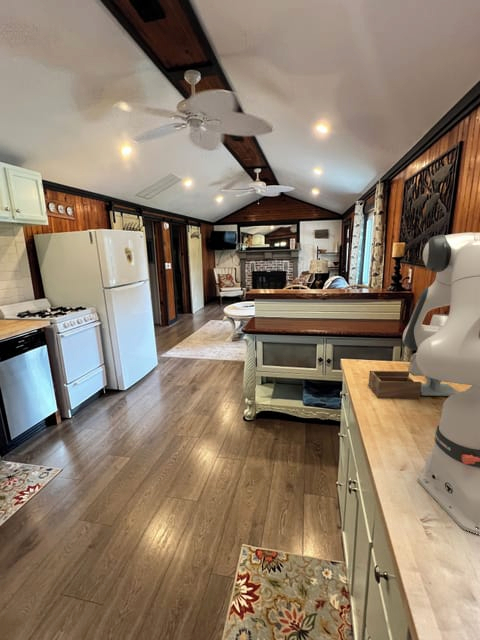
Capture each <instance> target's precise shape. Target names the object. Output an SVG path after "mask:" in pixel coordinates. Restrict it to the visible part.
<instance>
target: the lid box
mask: <svg viewBox="0 0 480 640" xmlns="http://www.w3.org/2000/svg"><path fill="white" fill-rule="evenodd" d="M422 383H423V382H421V381H415V380H414V379H412V378H411V377H410V373H409V371H408V370H402V371H401V370H400V371H399V370H369V376H368V384H367V385H368V388H370V390H371V391H372V393H374V396H376V398H377V399H390V400H391V399H394V400H395V399H396V400H399V399H400V400H404V399H405V400H420V397H421V394H420V391H421V385H422Z"/></svg>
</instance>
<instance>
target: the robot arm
mask: <svg viewBox="0 0 480 640" xmlns="http://www.w3.org/2000/svg"><path fill="white" fill-rule="evenodd" d="M422 260H423V263H424V266H425V268H426V269H427V270H428V271H431V272H434V273H435V272H436V275H435V280H434V281H433V283H432V284H431V285H430V286H429V287H426V288H424V289H422V291H421V292H420V294H419V297H418V299H417V302H416V303H415V306H414V309H413V311H412V314H411V316H410V319H409V321H408V323H407V326H406V327H405V329H404V330H403V334H402V343H403V345H404V346H405V347H406V348H407V349H409V350H410V351H416V352H415V353H413V354H412V355H411V356H410V359H409V360H410V361H409V364H408V369H407V371H409V375H411V376H414V377H415V376H416V377H418V376H419V377H420V376H421V377H424V378H425V380H426V383H425V384H427V385H430V386H431V385H432V384H433V382H432V381H431V380H430V379H429V378H433V379H437V380H438V381H439V382H440V384H442V382H444V383H451V384H458V385H464V386H465V385H467V386H470V387H468V388H467V389H466V390H463V391H461V392H459V393H456V394H453V395H451V396H448V397H447V398H446V399H445V400H444V402H443V404H442V408H441V414H440V419H439V424H438V425H437V426H436V430H435V432H434V445H433V447H431V449H430V451H429V452H428V454H427V457H426V461H425V464H424V467H423V470H422V472H421V473H420V474H419V475H418V477H417V482H418V483H419V484H420V485H421V486H422V488H424V490H425V491H426V492H427V493H428V494H429V495H430V496H431V497H432V498H433V499H434V500H435V501H436V502H437V504H439V506H440V507H442V509H443V510H444V511H445V512H446V513H447V514H448V515H449V516H450V518H452V519H453V521H454V522H455V523H456V524H457V525H458V526H459V527H460V528H461V529H463V530H465V531H466V530H467V532H469V531H470V533H471V532H473V533H472V534H474V533H477V534H480V232H471V231H470V232H459V233H451V234H446V235H445V234H444V233H443V234H438V235H434V236H432V237H430V238H429V239H428V240H427V242H426V244H425V246H424V248H423V251H422ZM448 306H449V313H448V314H445V313H444V314H443V313H435V314H433V315H432V317H431V320H430V323H429V324H427V325H426V324H423V322H424V320H425V318H426V315H427V313H428V312H430V311H432V310H435V309H439V308H443V307H448ZM476 528H477V529H476ZM477 534H476V535H477Z"/></svg>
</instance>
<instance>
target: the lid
mask: <svg viewBox="0 0 480 640" xmlns="http://www.w3.org/2000/svg"><path fill="white" fill-rule="evenodd" d="M429 379H430V380H431V381H432V382H433V384H432V385H431V386H430V385H427V384H426V383H423V382H421V383H422V385H421V391H420V396H438V397H441V396H443V397H444V396H446V397H447V396H448V397H449V396H451V395H453V394H456V393H460V392H459V391H457V390H456V389H455V388H453V387H452V386H451V385H449V384H448V383H440V382H439V381H438V380H437V379H433V378H429Z"/></svg>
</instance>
